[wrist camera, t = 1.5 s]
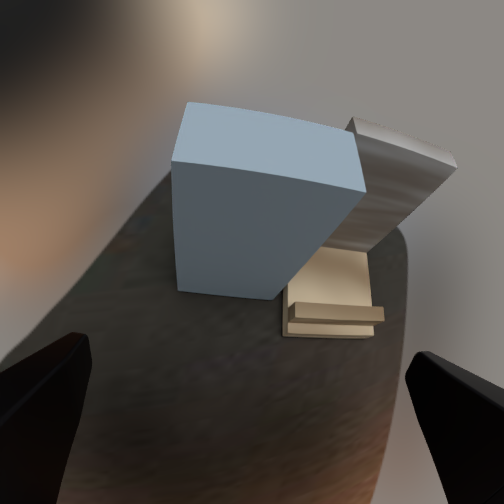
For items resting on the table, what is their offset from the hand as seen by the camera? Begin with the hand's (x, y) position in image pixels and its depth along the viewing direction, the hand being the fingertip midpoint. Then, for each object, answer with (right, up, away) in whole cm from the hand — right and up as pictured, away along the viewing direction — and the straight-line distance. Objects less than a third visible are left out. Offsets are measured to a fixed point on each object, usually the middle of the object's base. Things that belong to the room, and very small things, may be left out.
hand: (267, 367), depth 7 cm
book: (-2, +1, +14) cm, 15 cm away
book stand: (+5, 0, +16) cm, 16 cm away
